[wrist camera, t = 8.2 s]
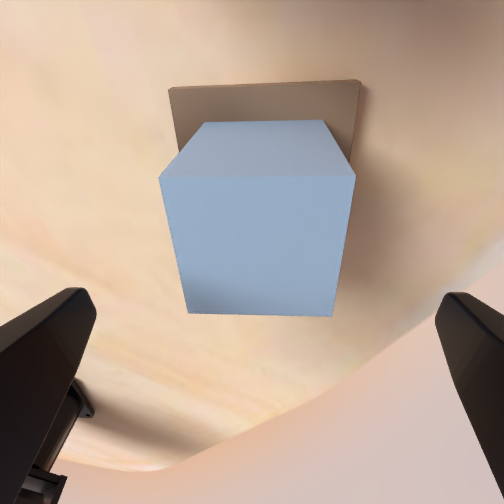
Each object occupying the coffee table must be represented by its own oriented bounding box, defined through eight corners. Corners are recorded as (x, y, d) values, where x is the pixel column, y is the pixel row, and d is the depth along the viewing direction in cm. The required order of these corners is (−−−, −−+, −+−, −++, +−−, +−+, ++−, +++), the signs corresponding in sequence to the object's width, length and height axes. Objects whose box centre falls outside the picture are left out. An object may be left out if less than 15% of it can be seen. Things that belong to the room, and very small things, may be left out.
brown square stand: (334, 238, 17) (357, 313, 13) (198, 238, 18) (171, 311, 13) (356, 79, 13) (405, 103, 8) (173, 87, 13) (116, 114, 9)
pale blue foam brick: (312, 224, 16) (331, 316, 11) (216, 223, 16) (188, 313, 11) (322, 119, 13) (356, 176, 8) (204, 122, 14) (158, 177, 8)
